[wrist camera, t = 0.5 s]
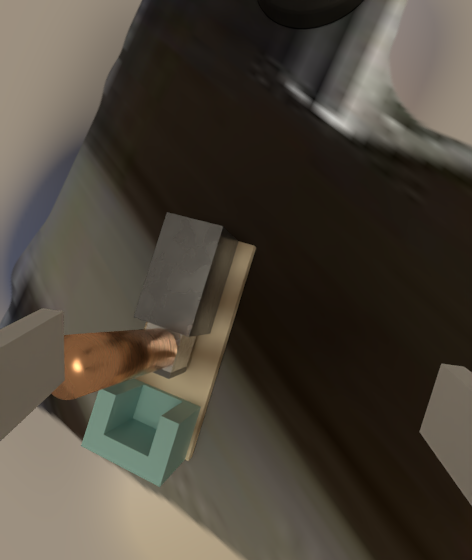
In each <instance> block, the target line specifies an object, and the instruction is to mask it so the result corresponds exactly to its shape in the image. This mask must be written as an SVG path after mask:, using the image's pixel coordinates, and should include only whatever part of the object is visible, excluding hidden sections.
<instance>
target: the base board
mask: <svg viewBox="0 0 472 560" xmlns="http://www.w3.org/2000/svg"><path fill="white" fill-rule="evenodd" d="M255 250H256V247H255V246H254V245H250V244H246V243H242V242H238V245H237V248H236V252H235V255H234V258H233V261H232V265H231V268H230V271H229V274H228V278H227V281H226V284H225V287H224V290H223V294H222V297H221V300H220V303H219V307H218V310H217V313H216V316H215V320H214V323H213V326H212V329H211V333H210V334H204V335H198V336H196V338H195V341H194V345H193V348H192V351H191V354H190V357H189V361H188V364H187V369H186V372H184V373H182V374H180V375H177V376H175V377H173V378H170V379H167V378H165V377H163V376H160V375H158V374H155V373H153V372H151V373H148V374H145V375H142V376H139V377H136V378H134V379H137V380H139V381H141V382H144V383H146V384H148V385H151V386H153V387H155V388H158V389H160V390H162V391H165V392H167V393H169V394H172V395H174V396H177V397H179V398H181V399H184V400H186V401H188V402H191V403H193V404H195V405H198V406H200V407H201V408H200V412H199V415H198V418H197V421H196V425H195V428H194V431H193V434H192V438H191V441H190V444H189V447H188V451H187V454H186V457H185V460H187V461H188V460H189V459H190V458H191V457H192V455H193V452H194V449H195V445H196V442H197V439H198V436H199V432H200V429H201V426H202V422H203V419H204V416H205V413H206V409H207V406H208V403H209V400H210V396H211V393H212V390H213V387H214V383H215V380H216V377H217V374H218V370H219V367H220V364H221V361H222V357H223V354H224V351H225V348H226V344H227V341H228V338H229V334H230V331H231V328H232V325H233V321H234V318H235V315H236V312H237V308H238V305H239V302H240V299H241V295H242V292H243V289H244V286H245V282H246V279H247V276H248V273H249V269H250V266H251V263H252V260H253V256H254V253H255ZM147 324H148V322H146V325H145V328H144V329H146V327H147Z"/></svg>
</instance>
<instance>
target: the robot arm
mask: <svg viewBox="0 0 472 560" xmlns="http://www.w3.org/2000/svg"><path fill="white" fill-rule="evenodd" d="M362 1H363V0H258V3H259V5H260V7H261V8H262V10H263V11H264V12H265V14H266V15H267V16H268V17H270V18H271V19H272V20H274V21H275V22H277V23H279V24H282V25H285V26H288V27H293V28H311V27H317V26H321V25H325V24H328V23H330V22H333V21H335V20H337V19H339V18H341V17H343V16H345V15H346V14H348V13H349V12H351V11H352V10H353V9H354V8H356V7H357V6H358V5H359V4H360V3H361V2H362ZM64 381H65V368H64V315H63V311H58V310H50V309H43V308H42V309H40V310H38V311H36V312H34V313H32V314H30V315H28V316H26V317H24V318H22V319H20V320H18V321H16V322H14V323H12V324H10V325H8V326H6V327H4V328H2V329H0V441H1V440H2V439H3V438H4V437H5V436H6V435H8V433H10V431H12V430H13V429H14V428H15V427H16V426H17V425H18V424H19V423H20V422H21V421H22V420H23V419H24V418H25V417H26V416H28V415H29V414H30V413H31V412H32V411H33V410H34V409H35V408H36V407H37V406H38V405H39V404H40V403H41V402H42V401H44V400H45V399H46V398H47V397H48V396H49V395H50V394H51V393H52V392H53V391H54V390H55V389H56V388H57V387H58V386H59V385H60V384H62V383H63V382H64ZM420 433H421V435H422V436H423V437H424V439H425V440H426V442H427V443H428V445H429V446H430V447H431V449H432V450H433V452H434V453H435V454H436V456H437V457H438V459H439V460H440V462H441V463H442V464H443V466H444V467H445V469H446V470H447V471H448V473H449V474H450V476H451V477H452V478H453V480H454V481H455V483H456V484H457V486H458V487H459V488H460V490H461V491H462V493H463V494H464V495H465V497H466V498H467V500H468V501H469V503H470V504H471V505H472V373H471V372H470V371H469V370H468V369H466V368H465V367H462V366H455V365H448V364H441V366H440V369H439V373H438V376H437V379H436V382H435V385H434V388H433V391H432V394H431V398H430V401H429V404H428V407H427V410H426V413H425V416H424V419H423V423H422V426H421V429H420Z"/></svg>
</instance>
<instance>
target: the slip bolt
mask: <svg viewBox="0 0 472 560" xmlns="http://www.w3.org/2000/svg"><path fill="white" fill-rule="evenodd" d="M195 338H196V336H192V337H187V336H185V335H182V334H179V333H176V332H174V331H171V330H168V329H165V328H163V327H160V326H157V325H154V324H152V323H149V322H148V324H147V327H146V329H141V330H128V331H114V332H100V333H86V334H73V335H64V368H65V381H64V382H63V383H62V384H60V385H59V386H58V387H57V388H56V389H55V390H54V391H53V392H52V393H51V394H53V395H54V396H55V397H57V398H60V399H63V400H71V399H75V398H78V397H81V396H84V395H87V394H89V393H92V392H95V391H98V390H101V389H104V388H107V387H110V386H113V385H116V384H119V383H122V382H125V381H128V380H131V379H134V378H136V377H139V376H142V375H145V374H148V373H151V372H153V373H155V374H158V375H160V376H163V377H165V378H167V379H170V378H173V377H175V376H177V375H180V374H182V373H184V372H186V369H187V364H188V361H189V357H190V354H191V351H192V348H193V345H194V341H195Z"/></svg>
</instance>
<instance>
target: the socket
mask: <svg viewBox="0 0 472 560" xmlns="http://www.w3.org/2000/svg"><path fill="white" fill-rule="evenodd" d="M200 408H201V407H200V406H198V405H195V404H193V403H191V402H188V401H186V400H184V399H181V398H179V397H177V396H174V395H172V394H169V393H167V392H165V391H162V390H160V389H158V388H155V387H153V386H151V385H148V384H146V383H144V382H141V381H139V380H137V379H131V380H128V381H125V382H122V383H119V384H116V385H113V386H110V387H107V388H104V389H101V390H99V392H98V395H97V398H96V401H95V404H94V407H93V411H92V414H91V417H90V420H89V423H88V426H87V429H86V432H85V436H84V439H83V442H82V445H81V446H82V447H84V448H86V449H88V450H90V451H92V452H94V453H96V454H98V455H100V456H102V457H103V458H105V459H107V460H109V461H111V462H113V463H115V464H117V465H119V466H121V467H123V468H125V469H126V470H128V471H130V472H132V473H134V474H136V475H138V476H140V477H142V478H144V479H146V480H148V481H149V482H151V483H153V484H155V485H157V486H159V487H160V486H161V485H162V484H163V483H164V482H165V481H166V480H167V478H168V477H169V476H170V475H171V474H172V473H173V472H174V471H175V470H176V469H177V468H178V466H179V465H180V464H181V463H182V462H183V461H184V460H185V457H186V454H187V451H188V447H189V444H190V441H191V438H192V434H193V431H194V428H195V425H196V421H197V418H198V415H199V412H200Z"/></svg>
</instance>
